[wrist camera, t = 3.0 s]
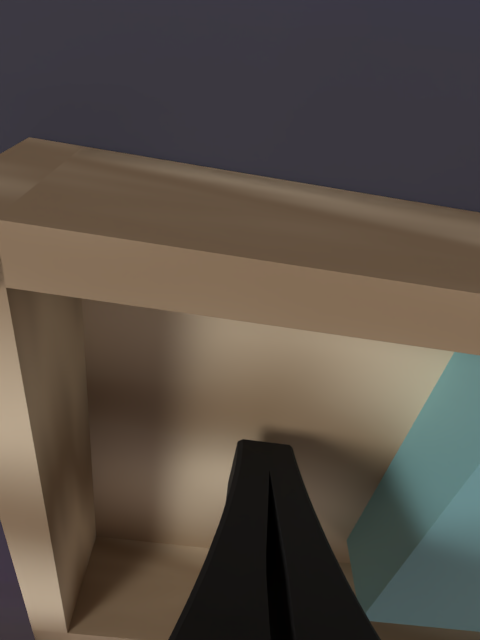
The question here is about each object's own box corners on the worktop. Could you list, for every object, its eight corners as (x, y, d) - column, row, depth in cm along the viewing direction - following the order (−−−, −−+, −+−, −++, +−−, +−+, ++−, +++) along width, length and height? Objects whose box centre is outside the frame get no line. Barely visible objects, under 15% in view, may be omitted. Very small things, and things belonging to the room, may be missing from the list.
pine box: (448, 571, 17) (487, 683, 14) (74, 531, 16) (36, 643, 13) (735, 255, 9) (950, 365, 6) (29, 137, 8) (-91, 205, 5)
